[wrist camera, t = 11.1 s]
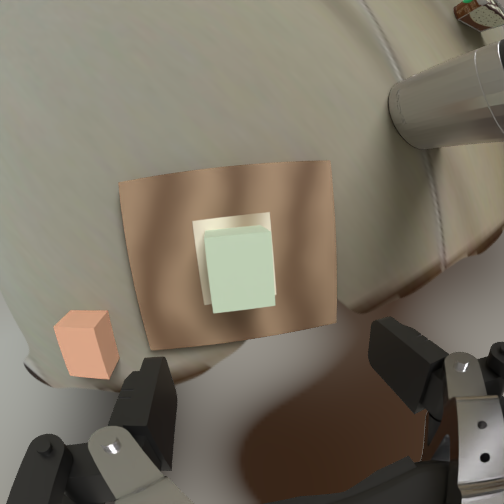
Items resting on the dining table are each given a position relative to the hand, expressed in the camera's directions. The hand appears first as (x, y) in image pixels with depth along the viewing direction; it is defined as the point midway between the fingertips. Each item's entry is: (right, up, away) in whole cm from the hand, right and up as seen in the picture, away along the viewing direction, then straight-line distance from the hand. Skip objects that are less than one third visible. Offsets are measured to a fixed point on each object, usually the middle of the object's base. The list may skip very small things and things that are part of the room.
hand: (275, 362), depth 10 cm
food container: (+41, +52, +14) cm, 68 cm away
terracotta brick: (-19, -5, +17) cm, 26 cm away
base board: (-3, +4, +17) cm, 18 cm away
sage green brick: (-2, +3, +16) cm, 16 cm away
